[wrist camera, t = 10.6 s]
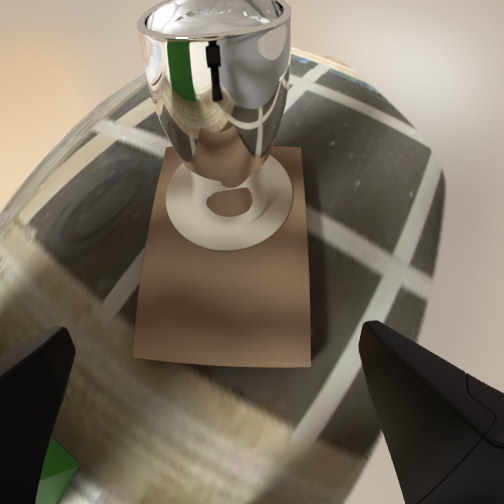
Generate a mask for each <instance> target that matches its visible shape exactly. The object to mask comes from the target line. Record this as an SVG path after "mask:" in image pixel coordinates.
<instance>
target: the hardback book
mask: <svg viewBox="0 0 504 504" xmlns="http://www.w3.org/2000/svg"><path fill="white" fill-rule="evenodd" d="M79 467H80V464H79V463H78V462H77V461H76V460H75V459H74V458H72V457H71V456H70V455H69V454H68V453H67V452H66V451H65V450H64V449H63V448H62V447H61V446H60V445H59V444H58V443H57V442H56V441H55V440H54V439H53V438H52V437H51V439H50V443H49V446H48V450H47V454H46V458H45V461H44V465H43V470H42V474H41V478H40V483H39V487H38V492H37V497H36V503H35V504H57V503H58V501H59V500H60V498H61V496H62V495H63V493H64V491H65V490H66V488H67V486H68V485H69V483H70V481H71V480H72V478H73V476H74V475H75V473H76V472H77V470H78V468H79Z"/></svg>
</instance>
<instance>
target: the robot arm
mask: <svg viewBox="0 0 504 504" xmlns="http://www.w3.org/2000/svg"><path fill="white" fill-rule="evenodd" d="M359 354H360V358H361V361H362V366H363V370H364V374H365V378H366V382H367V386H368V390H369V394H370V397H371V400H372V403H373V406H374V408H375V411H376V414H377V417H378V420H379V423H380V425H381V428H382V431H383V434H384V437H385V440H386V443H387V446H388V449H389V452H390V455H391V458H392V461H393V464H394V467H395V471H396V474H397V477H398V480H399V484H400V487H401V490H402V494H403V497H404V501H405V504H504V393H502V392H500V391H498V390H496V389H494V388H492V387H490V386H489V385H487V384H485V383H483V382H481V381H480V380H478V379H476V378H475V377H472V376H471V375H469V374H468V373H467V374H466V373H465V372H464V371H462V370H461V369H459V368H458V367H456V366H454V365H452V364H451V363H449V362H447V361H446V360H444V359H442V358H441V357H439V356H437V355H435V354H434V353H432V352H430V351H429V350H427V349H425V348H424V347H422V346H420V345H419V344H417V343H415V342H414V341H412V340H410V339H408V338H407V337H405V336H403V335H402V334H400V333H398V332H397V331H395V330H393V329H391V328H390V327H388V326H386V325H385V324H383V323H381V322H379V321H377V320H374V321H366V322H364V324H363V326H362V330H361V335H360V340H359ZM74 357H75V346H74V344H73V342H72V339H71V337H70V334H69V332H68V330H67V329H66V328H65V327H59V326H55V327H53V328H51V329H49V330H47V331H45V332H44V333H42V334H40V335H38V336H36V337H35V338H33V339H31V340H29V341H27V342H26V343H24V344H22V345H20V346H19V347H17V348H15V349H13V350H12V351H10V352H8V353H6V354H5V355H3V356H1V357H0V504H35V503H36V497H37V492H38V487H39V483H40V478H41V474H42V470H43V465H44V461H45V458H46V454H47V450H48V446H49V443H50V439H51V436H52V432H53V429H54V426H55V423H56V419H57V416H58V413H59V410H60V407H61V404H62V401H63V398H64V395H65V392H66V388H67V384H68V380H69V376H70V372H71V368H72V365H73V361H74Z"/></svg>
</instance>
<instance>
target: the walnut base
mask: <svg viewBox="0 0 504 504" xmlns="http://www.w3.org/2000/svg"><path fill="white" fill-rule="evenodd" d="M266 175H267V180H268V184H269V200H268V203H267V206H266V208H265V209H264V211H263V212H262V214H261V215H260V216H259V217H258V218H256V219H255V220H254V221H252V222H250V223H248V224H246V225H243V226H240V227H235V228H221V227H216V226H213V225H211V224H209V223H207V222H205V221H204V220H202V219H201V218H200V217H199V216H198V215H197V214H196V212H195V211H194V209H193V207H192V203H191V180H190V176H189V174H188V171H187V169H186V167H185V166H184V164H183V162H182V160H181V159H180V157H179V156H178V154H177V152H176V150H175V149H174V147H166V151H165V155H164V159H163V163H162V167H161V171H160V176H159V180H158V185H157V189H156V194H155V198H154V203H153V208H152V213H151V218H150V224H149V229H148V235H147V240H146V246H145V252H144V258H143V265H142V272H141V279H140V286H139V294H138V302H137V310H136V320H135V330H134V341H133V353H132V357H133V358H139V359H146V360H155V361H164V362H174V363H185V364H197V365H212V366H231V367H269V368H290V367H311V328H310V284H309V259H308V238H307V221H306V205H305V191H304V178H303V166H302V155H301V147H281V146H272V149H271V151H270V154H269V157H268V160H267V164H266Z"/></svg>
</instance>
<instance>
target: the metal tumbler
mask: <svg viewBox="0 0 504 504" xmlns="http://www.w3.org/2000/svg"><path fill="white" fill-rule="evenodd" d="M290 19H291V7H290V6H289V4H288V3H287V2H285V1H284V0H166V1H163V2H161V3H159V4H157V5H155V6H154V7H152V8H150V9H149V10H148V11H146V12H145V13H144V14H143V15H142V16H141V17H140V18H139V20H138V23H137V28H138V30H139V35H140V42H141V49H142V56H143V61H144V68H145V73H146V78H147V82H148V86H149V91H150V95H151V98H152V101H153V104H154V107H155V110H156V113H157V116H158V118H159V120H160V123H161V125H162V127H163V129H164V131H165V133H166V135H167V137H168V138H169V140H170V142H171V144H172V145H173V147H174V149H175V150H176V152H177V154H178V156H179V157H180V159H181V160H182V162H183V164H184V166H185V167H186V169H187V171H188V174H189V176H190V180H191V203H192V207H193V209H194V211H195V212H196V214H197V215H198V216H199V217H200V218H201V219H202V220H204V221H205V222H207V223H209V224H211V225H213V226H216V227H221V228H235V227H240V226H243V225H246V224H248V223H250V222H252V221H254V220H255V219H256V218H258V217H259V216H260V215H261V214H262V212H263V211H264V209H265V208H266V206H267V203H268V200H269V184H268V180H267V175H266V164H267V160H268V157H269V154H270V151H271V149H272V146H273V143H274V140H275V138H276V135H277V132H278V129H279V126H280V123H281V119H282V116H283V112H284V109H285V105H286V99H287V93H288V86H289V76H290V61H291V33H290Z"/></svg>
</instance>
